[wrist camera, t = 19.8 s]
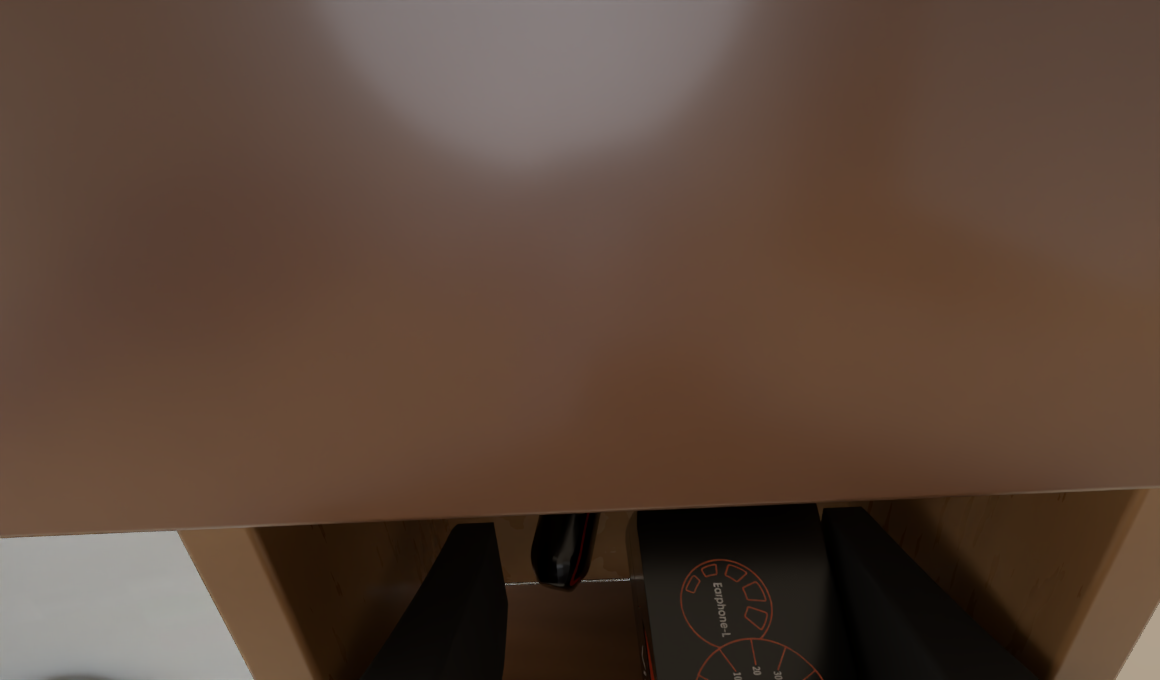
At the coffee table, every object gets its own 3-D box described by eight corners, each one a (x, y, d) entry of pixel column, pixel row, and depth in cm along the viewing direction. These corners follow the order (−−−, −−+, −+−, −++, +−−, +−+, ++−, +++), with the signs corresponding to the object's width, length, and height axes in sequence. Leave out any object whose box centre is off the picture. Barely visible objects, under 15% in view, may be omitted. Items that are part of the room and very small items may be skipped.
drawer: (843, 701, 19) (962, 1037, 13) (455, 713, 19) (398, 1043, 13) (1039, -141, 9) (1927, -365, 3) (236, -79, 9) (-357, -162, 3)
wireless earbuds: (747, 457, 13) (795, 414, 10) (834, 884, 11) (934, 996, 8) (523, 480, 13) (506, 444, 10) (553, 921, 10) (542, 1050, 7)
